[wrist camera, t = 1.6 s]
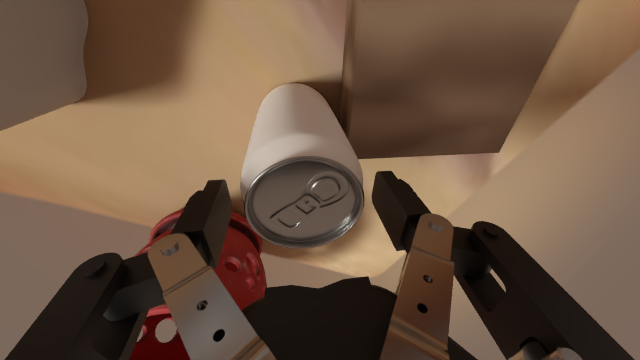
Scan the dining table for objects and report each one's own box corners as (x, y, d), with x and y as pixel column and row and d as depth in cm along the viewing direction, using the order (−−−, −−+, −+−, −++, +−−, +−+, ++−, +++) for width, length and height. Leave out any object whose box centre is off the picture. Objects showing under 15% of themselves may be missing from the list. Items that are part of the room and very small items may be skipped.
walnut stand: (352, -70, 14) (373, -97, 11) (548, -55, 16) (617, -74, 13) (337, 139, 22) (347, 159, 19) (469, 134, 24) (498, 152, 21)
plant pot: (211, 281, 32) (180, 394, 22) (124, 226, 25) (21, 360, 15) (292, 244, 30) (296, 352, 20) (223, 172, 23) (177, 287, 13)
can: (344, 121, 21) (397, 206, 11) (294, 164, 23) (303, 268, 13) (295, 63, 18) (310, 113, 8) (242, 119, 20) (202, 213, 10)
